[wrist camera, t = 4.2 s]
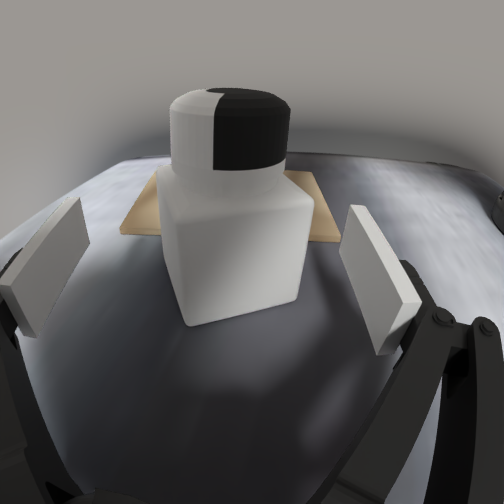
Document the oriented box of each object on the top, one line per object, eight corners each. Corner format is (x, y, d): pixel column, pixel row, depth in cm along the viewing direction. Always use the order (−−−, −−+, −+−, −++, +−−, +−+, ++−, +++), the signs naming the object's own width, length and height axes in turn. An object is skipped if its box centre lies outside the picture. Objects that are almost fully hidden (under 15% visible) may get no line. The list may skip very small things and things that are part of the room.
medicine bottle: (254, 241, 25) (266, 84, 18) (298, 302, 20) (332, 104, 13) (163, 258, 23) (151, 87, 16) (186, 330, 18) (170, 105, 11)
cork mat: (310, 176, 37) (311, 172, 37) (339, 242, 26) (341, 236, 26) (159, 170, 37) (158, 166, 36) (120, 233, 25) (119, 227, 25)
